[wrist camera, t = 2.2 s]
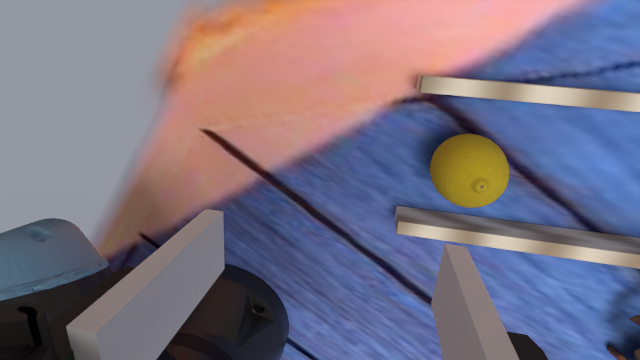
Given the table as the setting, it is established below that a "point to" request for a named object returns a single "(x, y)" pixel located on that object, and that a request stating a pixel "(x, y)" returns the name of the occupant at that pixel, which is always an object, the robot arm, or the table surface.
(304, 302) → the table surface
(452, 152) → the lemon
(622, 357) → the brown open ring
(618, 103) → the channel
